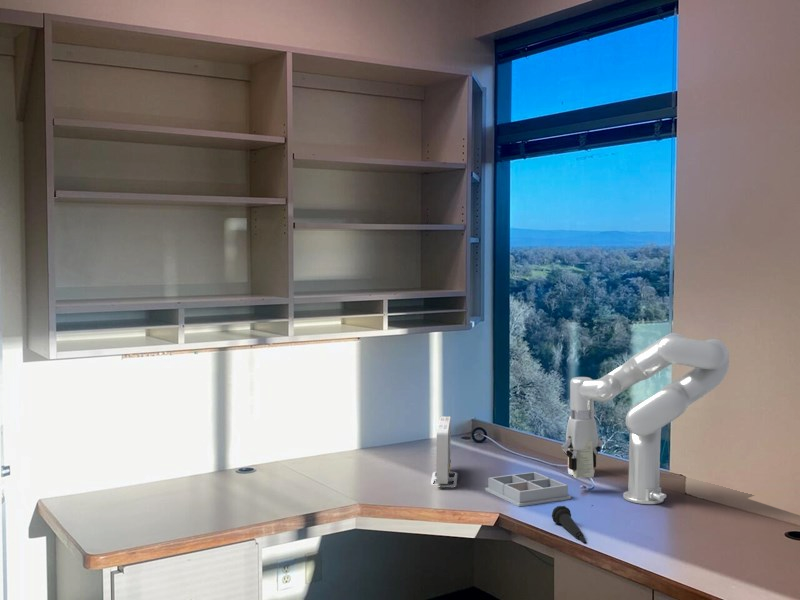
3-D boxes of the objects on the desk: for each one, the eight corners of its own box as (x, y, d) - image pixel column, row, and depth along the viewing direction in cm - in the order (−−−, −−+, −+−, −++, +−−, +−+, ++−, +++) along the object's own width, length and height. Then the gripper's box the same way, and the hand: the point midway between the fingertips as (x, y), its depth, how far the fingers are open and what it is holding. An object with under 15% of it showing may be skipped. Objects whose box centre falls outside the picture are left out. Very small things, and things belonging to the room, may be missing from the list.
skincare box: (590, 474, 278) (590, 438, 277) (594, 477, 273) (593, 440, 273) (571, 474, 278) (571, 438, 277) (574, 478, 273) (574, 441, 273)
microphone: (590, 554, 227) (562, 522, 246) (597, 535, 226) (569, 504, 246) (572, 549, 226) (546, 518, 245) (580, 530, 225) (553, 500, 244)
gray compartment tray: (571, 498, 267) (571, 485, 267) (518, 506, 259) (519, 493, 259) (534, 483, 285) (535, 470, 285) (484, 490, 277) (485, 477, 277)
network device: (433, 470, 303) (434, 415, 301) (457, 470, 302) (458, 416, 301) (429, 489, 277) (429, 430, 276) (455, 490, 276) (456, 430, 275)
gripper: (595, 410, 282) (596, 462, 282) (553, 415, 274) (554, 469, 275) (610, 414, 275) (610, 467, 276) (567, 419, 267) (568, 474, 268)
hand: (582, 467), depth 275 cm, fingers closed on skincare box, 7 cm apart
